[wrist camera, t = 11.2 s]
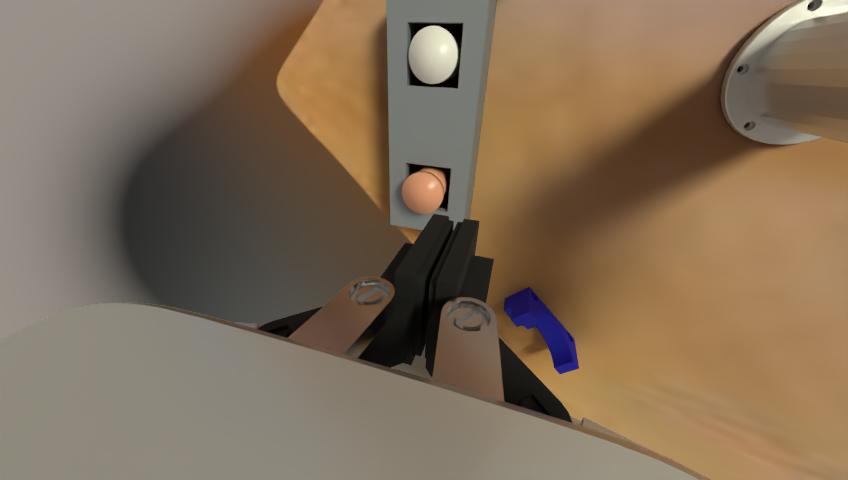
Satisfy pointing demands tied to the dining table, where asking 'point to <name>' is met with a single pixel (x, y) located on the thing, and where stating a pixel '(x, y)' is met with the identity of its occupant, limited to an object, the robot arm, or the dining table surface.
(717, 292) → the dining table surface
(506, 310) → the blue curved block
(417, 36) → the plug
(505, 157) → the dining table surface
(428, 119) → the block
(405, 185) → the terracotta plug
